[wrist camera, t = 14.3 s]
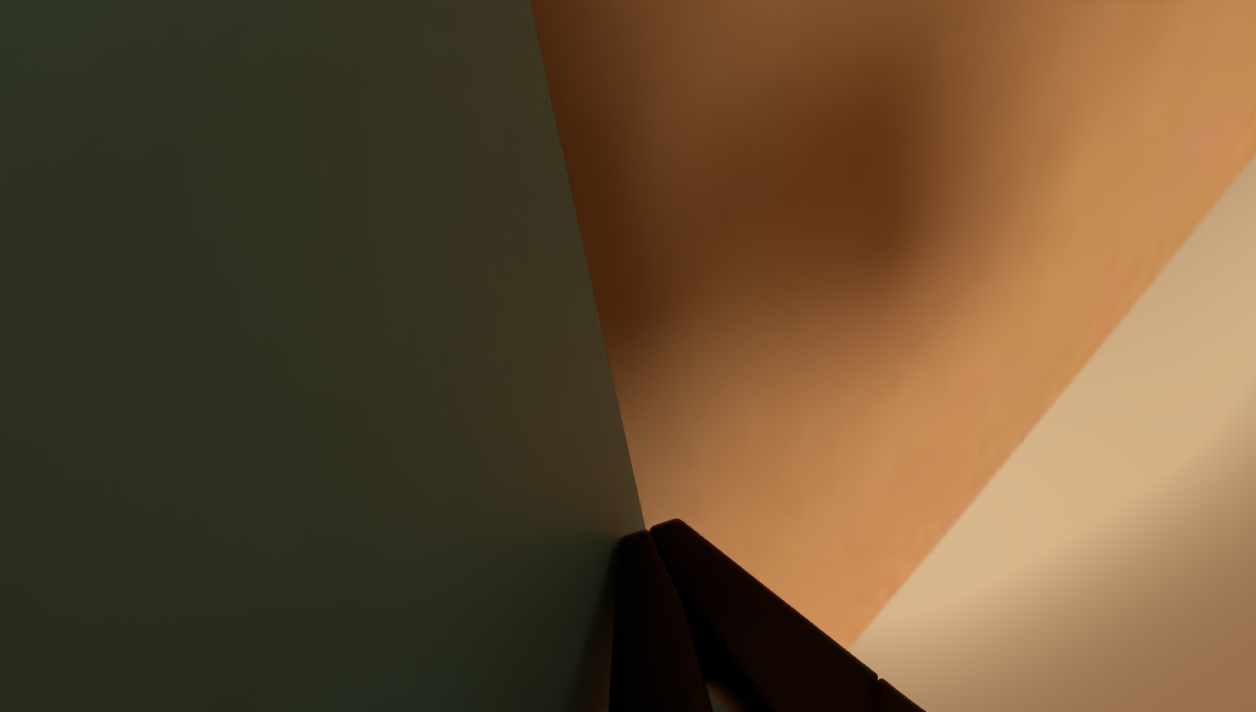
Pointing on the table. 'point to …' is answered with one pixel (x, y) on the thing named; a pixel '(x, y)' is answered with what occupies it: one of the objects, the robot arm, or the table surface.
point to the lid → (298, 365)
